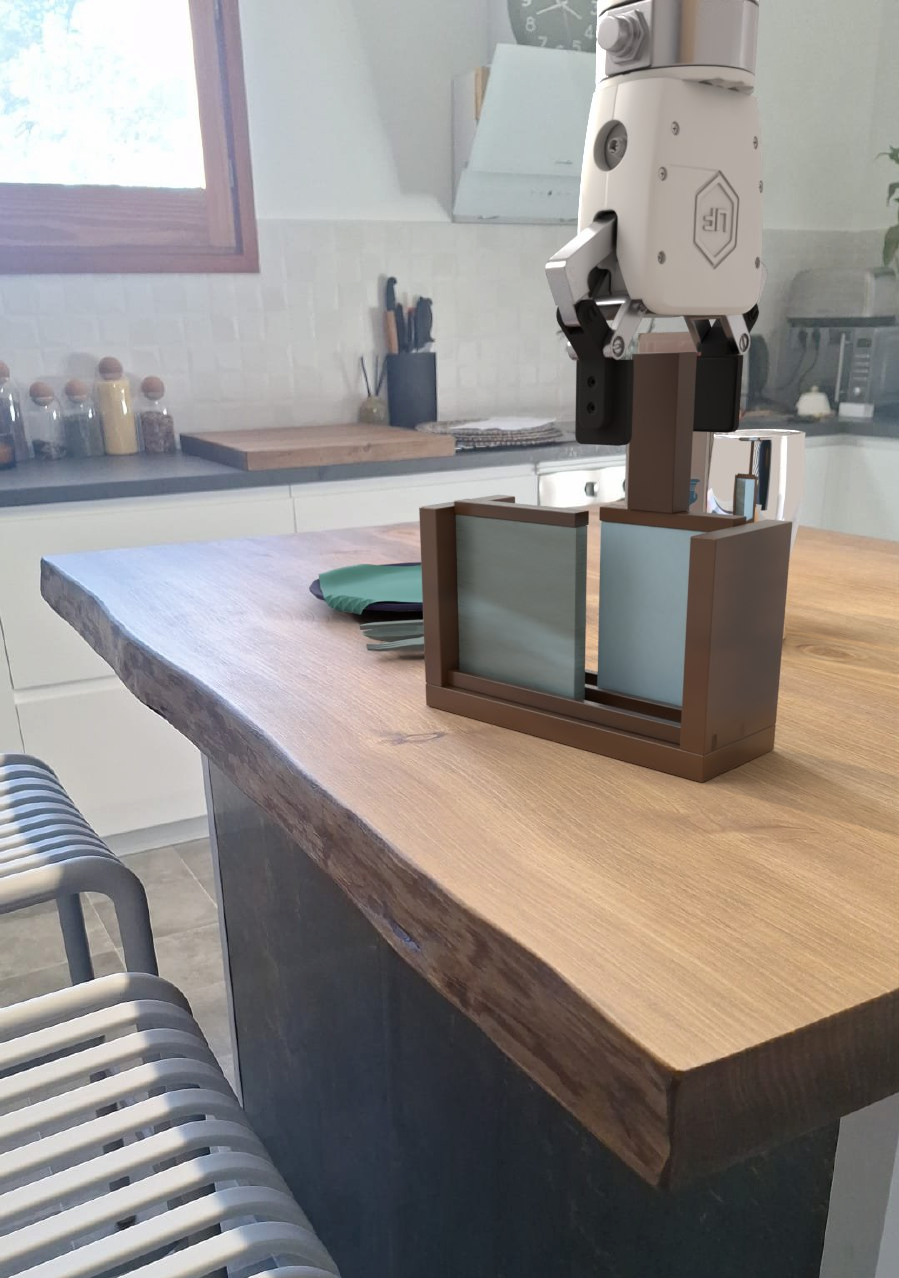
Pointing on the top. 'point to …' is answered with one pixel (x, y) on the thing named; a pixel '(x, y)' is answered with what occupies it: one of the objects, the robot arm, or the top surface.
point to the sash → (652, 537)
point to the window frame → (556, 636)
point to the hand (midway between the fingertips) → (659, 437)
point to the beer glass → (757, 476)
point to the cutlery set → (377, 600)
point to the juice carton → (700, 439)
